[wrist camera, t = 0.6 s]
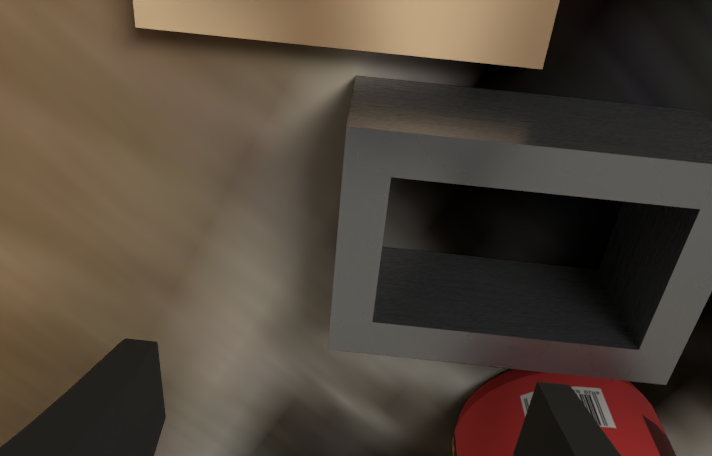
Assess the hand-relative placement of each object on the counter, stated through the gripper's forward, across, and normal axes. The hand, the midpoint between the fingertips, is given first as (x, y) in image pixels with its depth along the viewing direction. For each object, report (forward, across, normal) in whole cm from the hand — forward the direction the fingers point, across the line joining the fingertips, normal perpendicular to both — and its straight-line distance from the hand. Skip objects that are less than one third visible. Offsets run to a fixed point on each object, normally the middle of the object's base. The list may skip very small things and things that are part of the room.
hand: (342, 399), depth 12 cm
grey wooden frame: (+9, -4, 0) cm, 10 cm away
